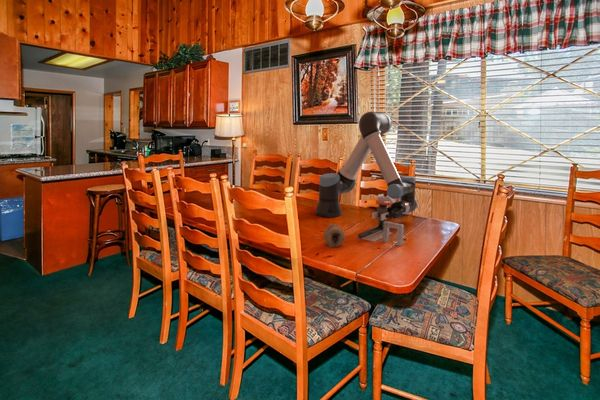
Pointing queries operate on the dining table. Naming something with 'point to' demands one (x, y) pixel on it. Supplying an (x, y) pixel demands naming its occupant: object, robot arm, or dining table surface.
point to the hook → (382, 210)
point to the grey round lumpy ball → (334, 236)
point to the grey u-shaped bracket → (399, 232)
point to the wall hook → (381, 197)
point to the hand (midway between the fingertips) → (377, 216)
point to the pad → (375, 236)
